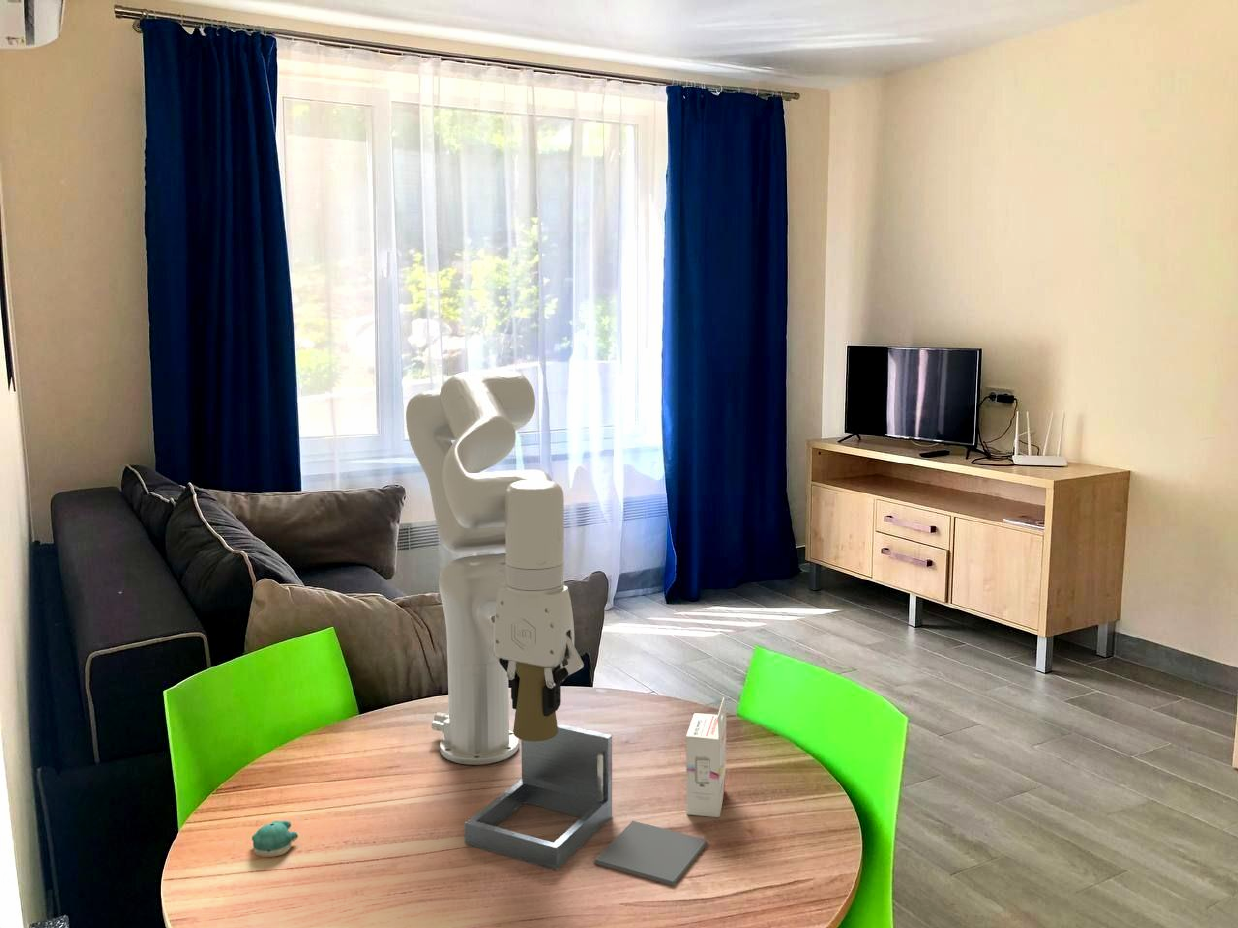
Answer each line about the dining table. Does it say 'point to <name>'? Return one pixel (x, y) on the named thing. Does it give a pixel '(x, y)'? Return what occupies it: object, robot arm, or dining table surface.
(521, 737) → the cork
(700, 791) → the ink cartridge box
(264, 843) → the whale figurine
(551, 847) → the open lid tray
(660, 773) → the dining table surface
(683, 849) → the rubber mat
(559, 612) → the robot arm
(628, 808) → the dining table surface
